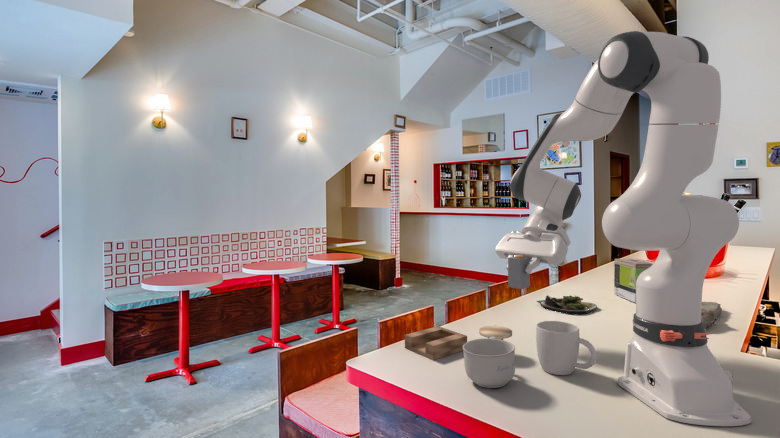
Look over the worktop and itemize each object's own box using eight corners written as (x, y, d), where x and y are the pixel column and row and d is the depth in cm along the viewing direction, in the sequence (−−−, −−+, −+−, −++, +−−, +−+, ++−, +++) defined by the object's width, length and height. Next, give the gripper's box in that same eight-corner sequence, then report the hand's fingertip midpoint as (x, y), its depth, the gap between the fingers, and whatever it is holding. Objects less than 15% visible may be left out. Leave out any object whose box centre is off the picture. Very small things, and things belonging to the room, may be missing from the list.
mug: (530, 371, 94) (529, 327, 94) (545, 359, 101) (545, 318, 100) (590, 387, 86) (590, 339, 85) (602, 373, 92) (602, 328, 92)
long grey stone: (728, 315, 140) (692, 312, 147) (728, 300, 140) (692, 297, 147) (709, 334, 116) (667, 328, 123) (708, 315, 116) (666, 310, 123)
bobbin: (515, 360, 100) (514, 335, 100) (481, 359, 101) (481, 335, 101) (509, 348, 108) (509, 325, 108) (478, 348, 109) (477, 325, 109)
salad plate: (561, 299, 162) (561, 287, 162) (608, 308, 148) (608, 295, 147) (531, 307, 151) (531, 294, 151) (577, 318, 136) (578, 304, 136)
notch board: (438, 338, 118) (438, 326, 117) (467, 349, 109) (467, 335, 109) (404, 347, 110) (404, 334, 110) (433, 360, 102) (432, 345, 101)
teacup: (506, 398, 82) (506, 358, 81) (455, 386, 87) (454, 348, 87) (524, 372, 93) (524, 337, 93) (478, 363, 99) (478, 330, 99)
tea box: (662, 303, 152) (662, 263, 151) (634, 303, 152) (635, 263, 151) (638, 294, 167) (638, 257, 166) (613, 294, 167) (613, 257, 166)
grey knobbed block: (517, 284, 116) (517, 254, 116) (529, 287, 113) (529, 255, 113) (508, 286, 114) (507, 255, 113) (520, 289, 111) (520, 256, 110)
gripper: (503, 224, 125) (482, 259, 120) (567, 226, 109) (545, 268, 103) (513, 238, 128) (492, 273, 123) (576, 242, 112) (555, 283, 106)
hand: (517, 271), depth 113 cm, fingers closed on grey knobbed block, 4 cm apart
